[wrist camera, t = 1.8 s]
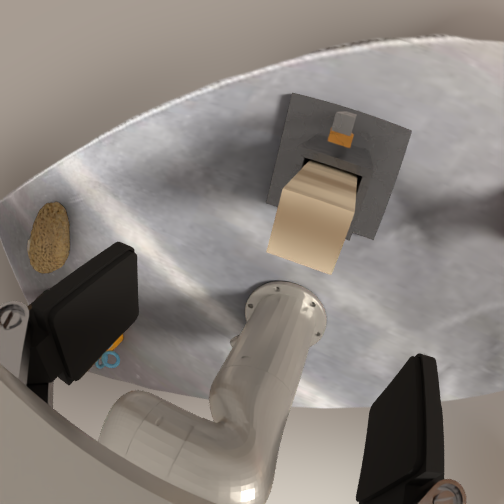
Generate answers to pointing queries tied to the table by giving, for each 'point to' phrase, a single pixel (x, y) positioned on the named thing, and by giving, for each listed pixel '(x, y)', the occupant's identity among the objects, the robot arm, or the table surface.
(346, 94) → the table surface
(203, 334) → the table surface
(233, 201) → the table surface
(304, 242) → the post
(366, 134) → the grey socket stand
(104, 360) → the orange tube with rings
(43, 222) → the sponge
